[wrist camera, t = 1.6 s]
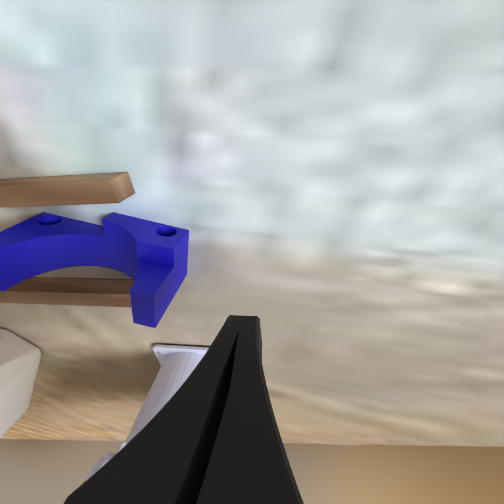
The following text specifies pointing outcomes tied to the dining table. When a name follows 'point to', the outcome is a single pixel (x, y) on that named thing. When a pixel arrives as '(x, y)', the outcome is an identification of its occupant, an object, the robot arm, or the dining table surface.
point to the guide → (68, 193)
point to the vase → (16, 377)
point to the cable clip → (101, 255)
